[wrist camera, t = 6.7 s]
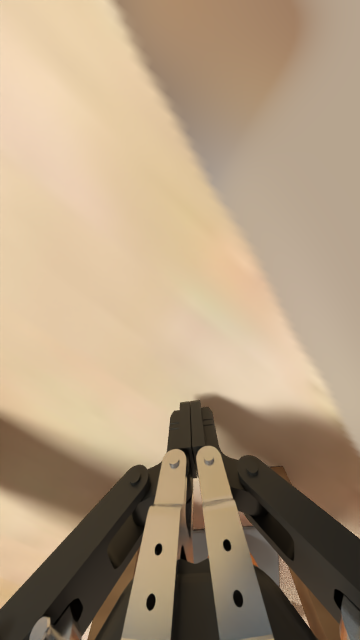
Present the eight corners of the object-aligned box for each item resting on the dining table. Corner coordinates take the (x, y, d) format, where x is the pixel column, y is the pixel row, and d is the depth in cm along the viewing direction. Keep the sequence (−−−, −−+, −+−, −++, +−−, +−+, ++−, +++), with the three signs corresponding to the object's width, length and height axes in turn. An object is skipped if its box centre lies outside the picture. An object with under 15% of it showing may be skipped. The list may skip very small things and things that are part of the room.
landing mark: (278, 595, 21) (279, 598, 21) (174, 599, 22) (174, 602, 22) (276, 524, 18) (277, 527, 18) (153, 533, 19) (153, 535, 19)
